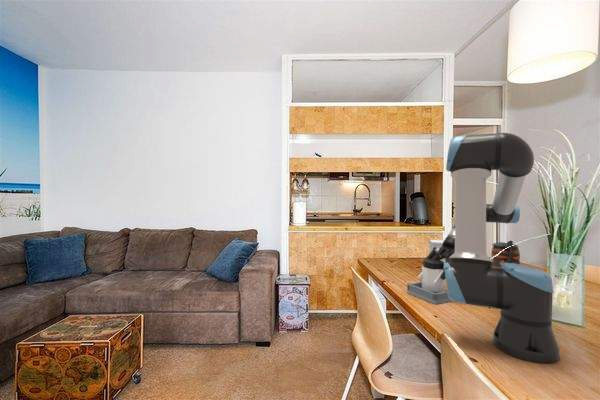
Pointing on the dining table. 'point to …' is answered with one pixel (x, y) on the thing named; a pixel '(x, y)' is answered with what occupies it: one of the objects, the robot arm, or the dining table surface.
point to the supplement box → (436, 244)
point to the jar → (432, 274)
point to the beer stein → (505, 254)
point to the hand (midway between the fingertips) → (427, 281)
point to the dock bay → (427, 294)
